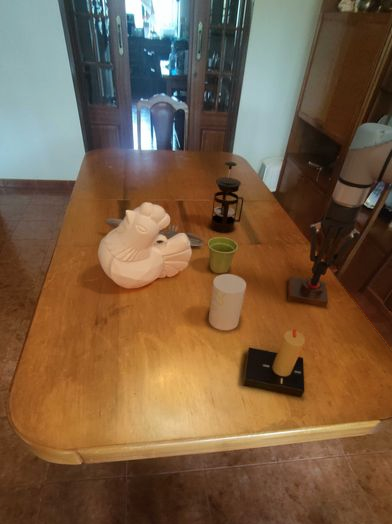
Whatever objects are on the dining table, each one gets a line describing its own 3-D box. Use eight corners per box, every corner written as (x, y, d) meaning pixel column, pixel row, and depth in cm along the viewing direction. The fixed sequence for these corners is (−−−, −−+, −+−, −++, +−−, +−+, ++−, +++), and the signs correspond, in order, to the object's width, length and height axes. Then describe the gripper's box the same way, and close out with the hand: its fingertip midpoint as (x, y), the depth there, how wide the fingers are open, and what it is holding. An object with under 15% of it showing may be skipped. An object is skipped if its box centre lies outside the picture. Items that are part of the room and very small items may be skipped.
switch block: (322, 288, 100) (327, 277, 97) (325, 307, 93) (330, 296, 90) (288, 282, 101) (291, 271, 98) (288, 301, 94) (291, 290, 91)
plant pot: (237, 266, 106) (242, 242, 100) (227, 280, 100) (231, 255, 93) (211, 258, 108) (214, 234, 102) (200, 271, 102) (202, 246, 96)
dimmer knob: (291, 378, 70) (306, 346, 63) (271, 374, 71) (284, 341, 63) (291, 363, 73) (305, 331, 66) (272, 360, 74) (284, 327, 66)
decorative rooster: (84, 275, 85) (135, 212, 69) (94, 237, 93) (141, 173, 78) (160, 314, 99) (216, 269, 83) (162, 277, 107) (213, 231, 92)
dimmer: (300, 364, 77) (303, 357, 75) (301, 397, 70) (304, 390, 68) (247, 354, 78) (249, 346, 76) (242, 385, 71) (245, 378, 69)
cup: (207, 310, 89) (211, 273, 80) (235, 310, 90) (243, 274, 81) (210, 330, 83) (215, 293, 74) (240, 330, 84) (249, 293, 75)
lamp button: (317, 286, 96) (319, 281, 95) (318, 292, 94) (320, 288, 93) (305, 284, 97) (307, 279, 95) (306, 290, 94) (308, 285, 93)
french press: (209, 232, 121) (215, 165, 105) (208, 221, 128) (214, 157, 111) (239, 234, 122) (251, 168, 105) (237, 223, 128) (247, 159, 112)
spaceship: (109, 208, 112) (102, 208, 104) (206, 230, 113) (205, 231, 106) (107, 231, 115) (100, 233, 108) (201, 252, 116) (200, 255, 109)
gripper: (371, 199, 79) (334, 279, 96) (318, 191, 80) (291, 272, 97) (377, 211, 74) (337, 294, 91) (320, 203, 75) (291, 286, 92)
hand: (313, 282), depth 94 cm, fingers closed
